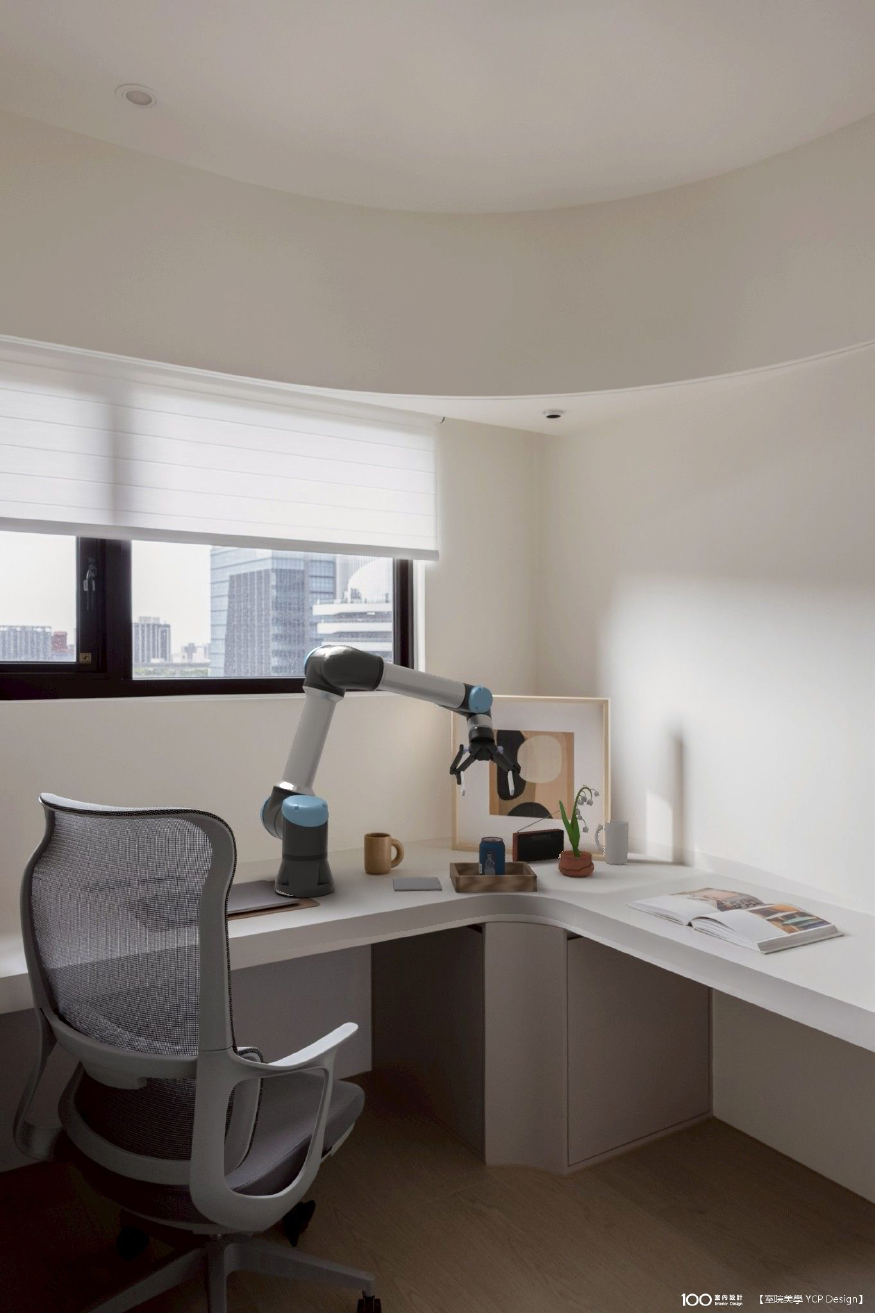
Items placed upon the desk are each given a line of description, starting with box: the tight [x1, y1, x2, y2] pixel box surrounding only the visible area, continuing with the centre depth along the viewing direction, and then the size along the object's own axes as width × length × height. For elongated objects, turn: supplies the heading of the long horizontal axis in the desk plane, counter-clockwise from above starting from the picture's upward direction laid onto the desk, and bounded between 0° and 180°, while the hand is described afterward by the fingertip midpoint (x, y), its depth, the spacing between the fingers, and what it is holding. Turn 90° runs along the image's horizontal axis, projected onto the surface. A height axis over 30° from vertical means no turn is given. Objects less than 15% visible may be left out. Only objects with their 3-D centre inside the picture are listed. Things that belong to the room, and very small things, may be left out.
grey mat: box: [392, 876, 442, 892], centre depth 239 cm, size 12×12×1 cm
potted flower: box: [557, 784, 600, 878], centre depth 253 cm, size 12×10×25 cm
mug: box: [594, 819, 629, 866], centre depth 268 cm, size 10×7×12 cm, turn 61°
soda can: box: [478, 836, 506, 875], centre depth 241 cm, size 7×7×12 cm
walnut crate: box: [449, 861, 538, 893], centre depth 241 cm, size 21×16×4 cm
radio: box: [511, 809, 565, 863], centre depth 270 cm, size 19×3×15 cm, turn 118°
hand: (488, 793), depth 252 cm, fingers open, 13 cm apart
